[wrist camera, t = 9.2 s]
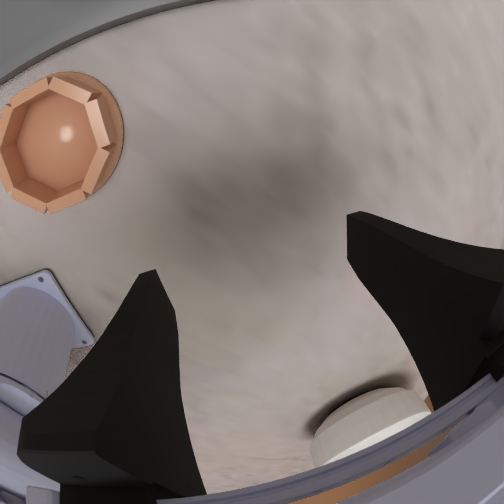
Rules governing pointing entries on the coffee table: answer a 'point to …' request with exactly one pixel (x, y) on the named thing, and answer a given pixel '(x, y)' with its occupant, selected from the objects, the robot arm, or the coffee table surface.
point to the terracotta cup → (59, 141)
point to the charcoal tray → (62, 25)
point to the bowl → (366, 423)
